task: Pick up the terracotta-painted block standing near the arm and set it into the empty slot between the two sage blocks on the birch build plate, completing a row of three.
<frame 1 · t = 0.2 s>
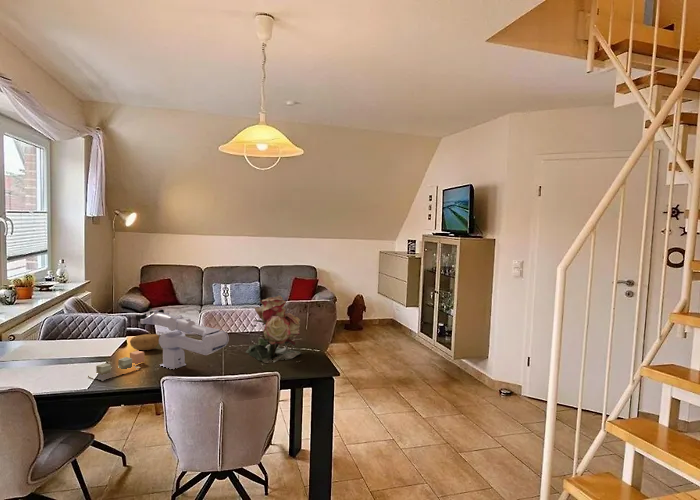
hand: (143, 315, 215), 21 cm above the table, tool horizontal, fingers open, 7 cm apart
terracotta block: (137, 363, 209), on the table
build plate: (114, 373, 196), on the table
potato: (145, 350, 229), on the table
rose bouquet: (276, 354, 229), on the table
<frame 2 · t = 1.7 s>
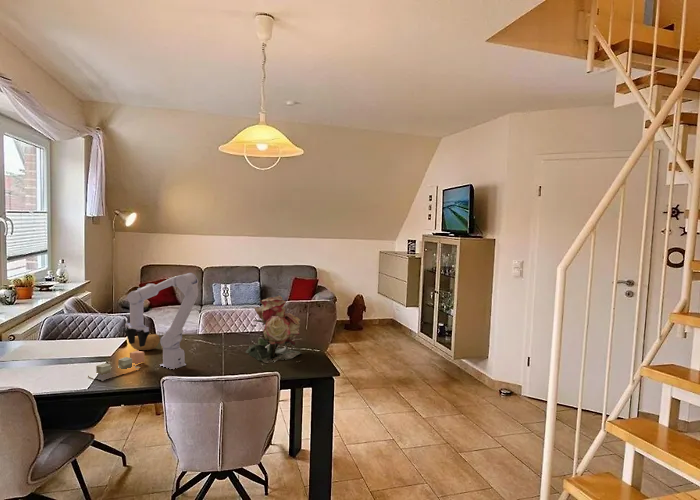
hand: (137, 344, 208), 9 cm above the table, tool pointing down, fingers open, 7 cm apart
nothing on the table moved.
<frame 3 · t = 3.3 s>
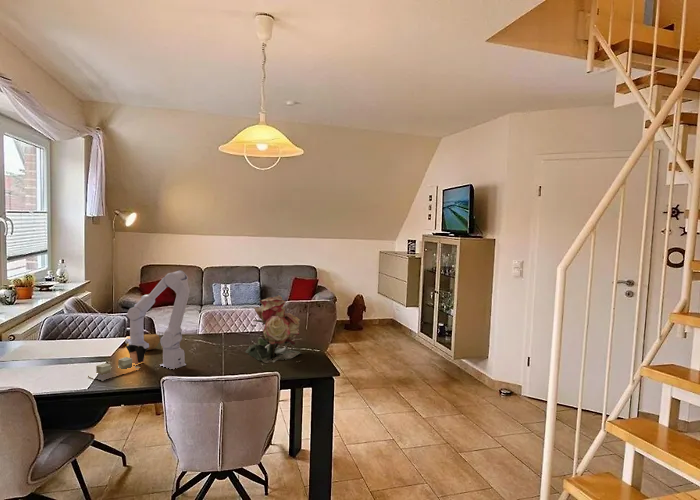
hand: (137, 360, 209), 1 cm above the table, tool pointing down, fingers closed on terracotta block, 4 cm apart
terracotta block: (137, 363, 209), on the table, touching gripper
everything else where it was.
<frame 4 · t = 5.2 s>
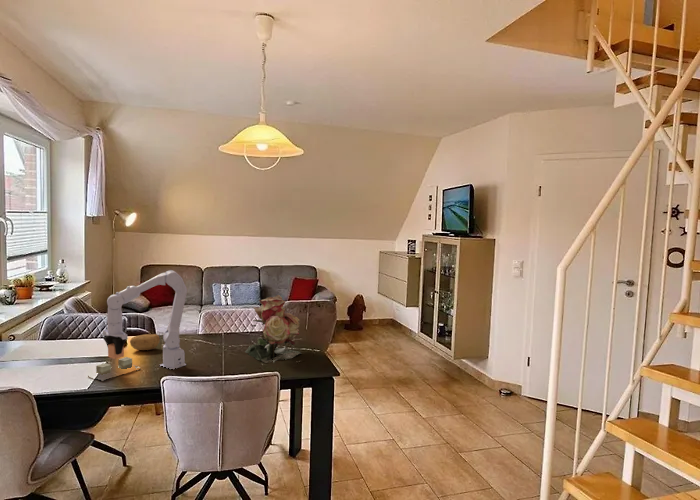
hand: (115, 352, 196), 9 cm above the table, tool pointing down, fingers closed on terracotta block, 4 cm apart
terracotta block: (116, 356, 196), point 7 cm above the table, touching gripper
everything else where it was.
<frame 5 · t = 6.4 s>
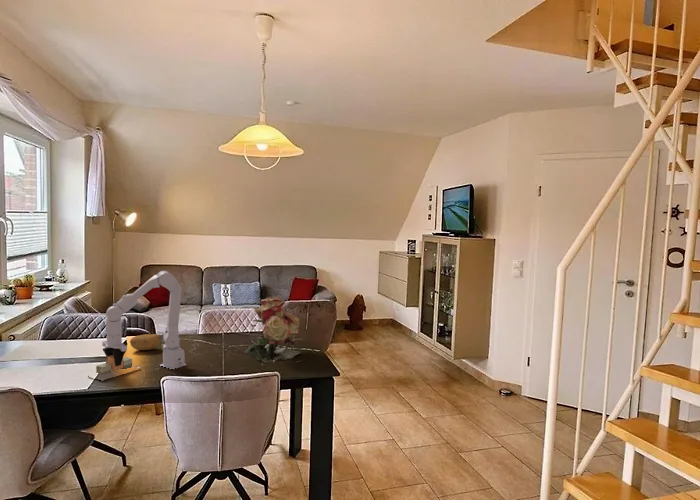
hand: (114, 364, 196), 4 cm above the table, tool pointing down, fingers closed on terracotta block, 4 cm apart
terracotta block: (115, 368, 196), point 2 cm above the table, touching gripper
everything else where it was.
when the fingers open (4 cm above the table, at t = 7.1 s): terracotta block drops 1 cm, resting on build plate.
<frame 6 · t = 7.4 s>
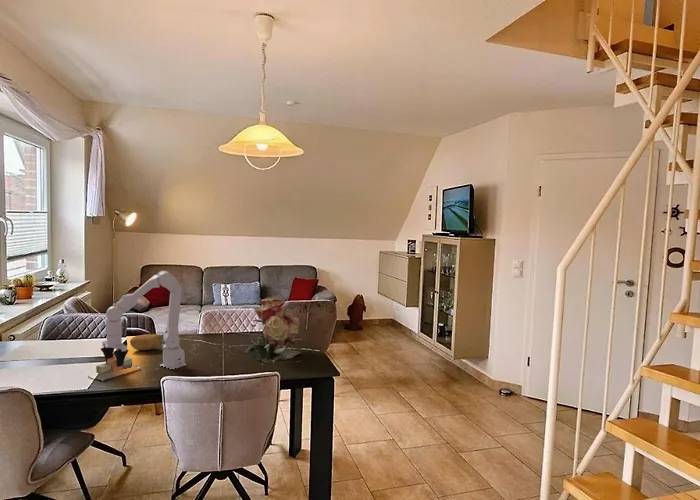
hand: (114, 364, 196), 4 cm above the table, tool pointing down, fingers open, 7 cm apart
terracotta block: (115, 370, 196), point 1 cm above the table, touching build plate
everything else where it was.
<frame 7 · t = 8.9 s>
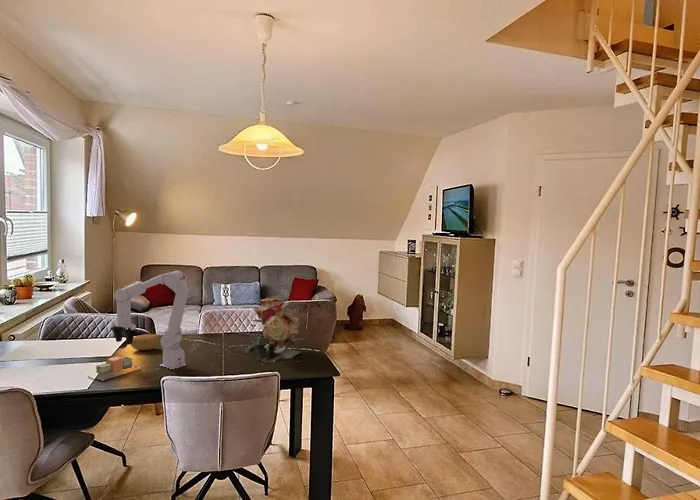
hand: (124, 342, 208), 10 cm above the table, tool pointing down, fingers open, 7 cm apart
nothing on the table moved.
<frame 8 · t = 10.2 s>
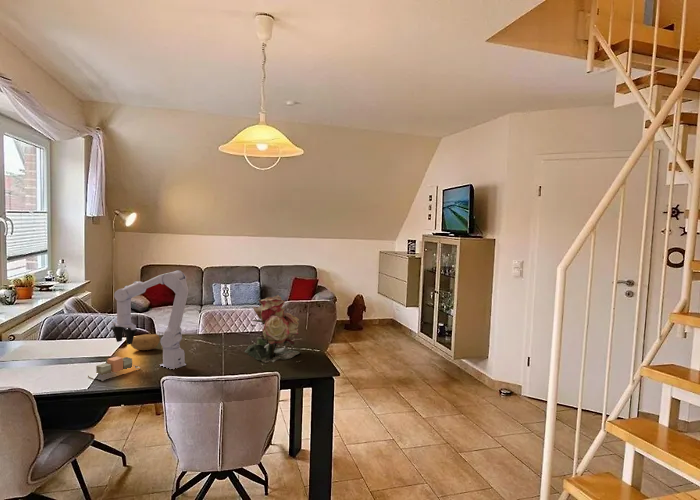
hand: (124, 342, 208), 10 cm above the table, tool pointing down, fingers open, 7 cm apart
nothing on the table moved.
at the end: terracotta block 0.3 cm off-centre on the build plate, point 1.0 cm above the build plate's base; terracotta block tilted 0°; the gripper is holding nothing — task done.
